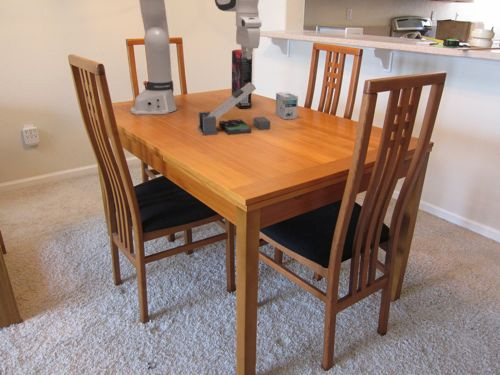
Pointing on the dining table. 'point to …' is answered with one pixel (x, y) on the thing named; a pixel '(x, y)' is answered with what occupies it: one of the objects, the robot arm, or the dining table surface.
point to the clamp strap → (232, 100)
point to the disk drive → (235, 127)
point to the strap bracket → (209, 123)
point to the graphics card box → (241, 76)
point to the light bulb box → (286, 105)
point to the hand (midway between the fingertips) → (246, 58)
